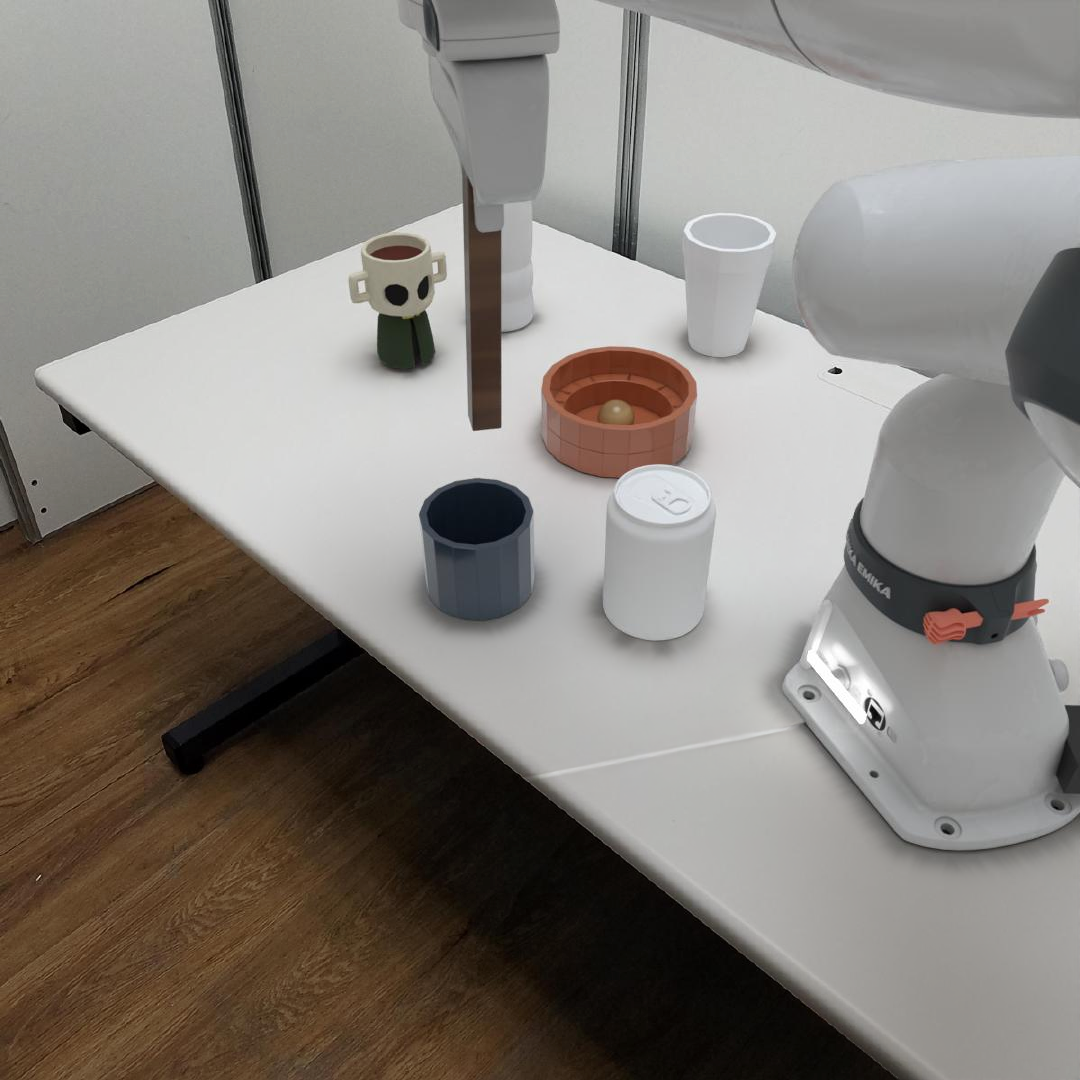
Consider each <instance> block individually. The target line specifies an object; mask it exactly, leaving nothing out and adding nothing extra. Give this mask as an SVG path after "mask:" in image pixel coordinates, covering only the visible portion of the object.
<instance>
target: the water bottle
mask: <svg viewBox="0 0 1080 1080" xmlns="http://www.w3.org/2000/svg"><path fill="white" fill-rule="evenodd" d="M532 252H533V200H531V201H526V202H517V203H508V204H504V226H503V228H502V229H501V333H505V332H514V331H517V330H520V329H522V328H524V327H526V326H528V324H529V323H531V322H532V320H533V318H534V315H535V302H534V301H535V300H534V293H533V284H534V267H533V262H532Z"/></svg>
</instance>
